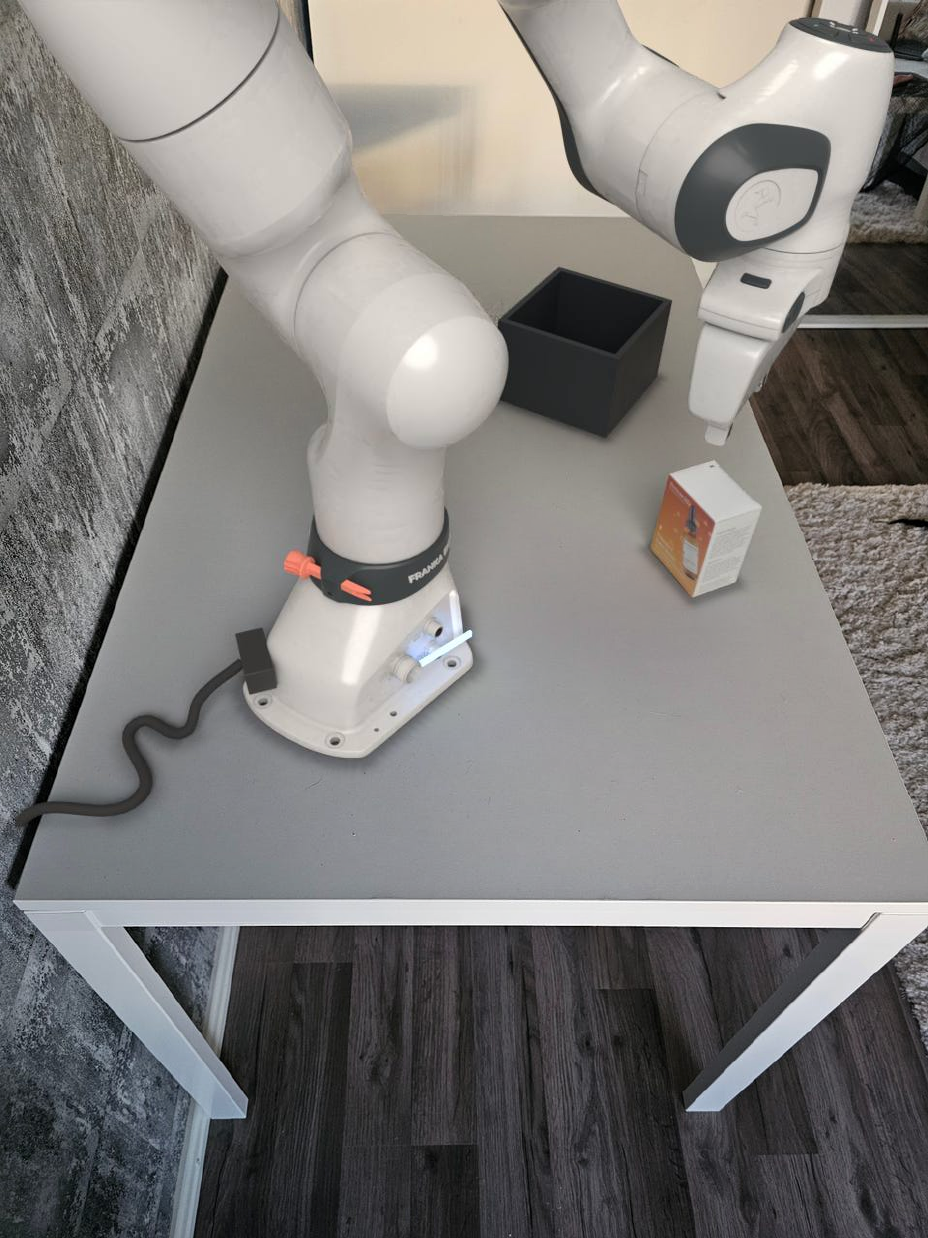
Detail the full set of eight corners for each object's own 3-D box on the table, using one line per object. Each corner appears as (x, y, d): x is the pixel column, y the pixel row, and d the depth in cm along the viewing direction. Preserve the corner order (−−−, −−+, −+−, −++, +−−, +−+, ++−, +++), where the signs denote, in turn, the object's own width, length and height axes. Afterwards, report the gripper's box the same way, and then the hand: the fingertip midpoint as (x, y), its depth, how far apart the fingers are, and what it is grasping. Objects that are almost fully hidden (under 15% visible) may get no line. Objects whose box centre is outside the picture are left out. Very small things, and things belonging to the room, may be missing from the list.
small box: (648, 550, 97) (666, 471, 89) (692, 535, 98) (714, 457, 90) (691, 600, 92) (714, 522, 84) (737, 583, 93) (764, 506, 86)
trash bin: (605, 438, 110) (618, 359, 102) (494, 397, 115) (497, 319, 107) (657, 376, 119) (672, 299, 111) (551, 342, 124) (558, 266, 116)
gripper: (779, 204, 78) (740, 348, 88) (690, 308, 66) (657, 460, 76) (853, 222, 75) (804, 368, 86) (775, 333, 64) (729, 486, 74)
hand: (734, 412), depth 81 cm, fingers open, 8 cm apart
